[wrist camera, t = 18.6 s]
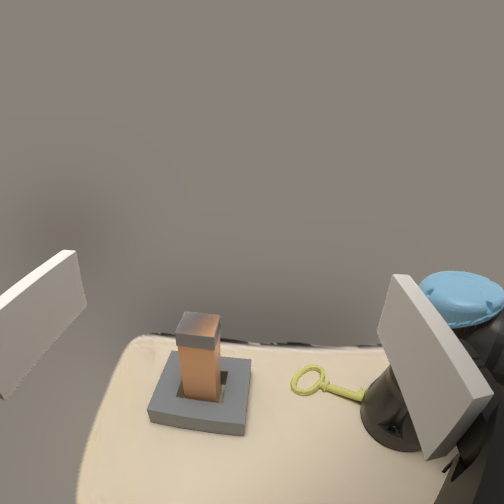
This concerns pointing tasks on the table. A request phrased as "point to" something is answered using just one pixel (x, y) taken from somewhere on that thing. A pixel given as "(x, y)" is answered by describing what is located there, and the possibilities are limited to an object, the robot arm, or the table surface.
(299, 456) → the table surface
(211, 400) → the plug
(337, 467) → the table surface
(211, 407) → the socket block
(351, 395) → the key
